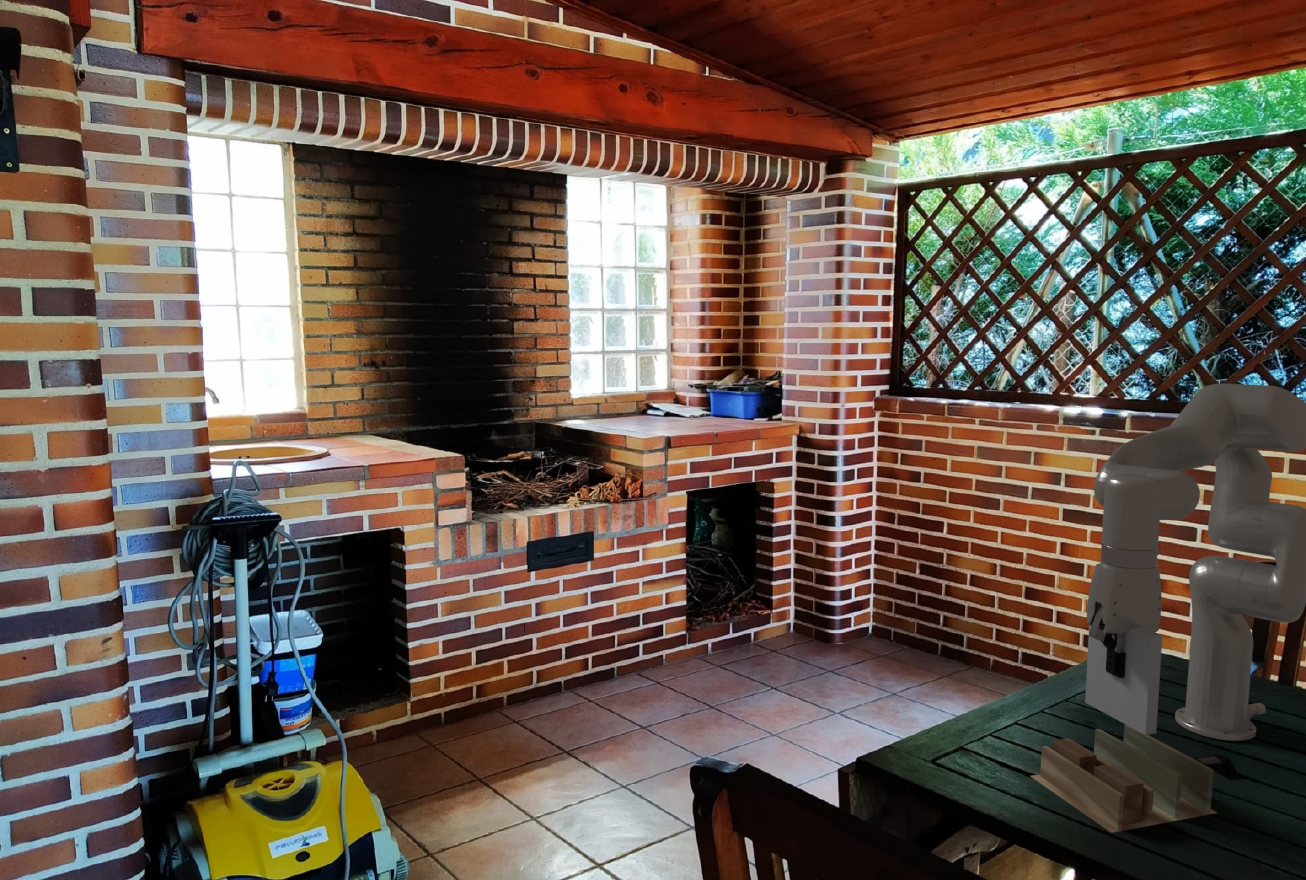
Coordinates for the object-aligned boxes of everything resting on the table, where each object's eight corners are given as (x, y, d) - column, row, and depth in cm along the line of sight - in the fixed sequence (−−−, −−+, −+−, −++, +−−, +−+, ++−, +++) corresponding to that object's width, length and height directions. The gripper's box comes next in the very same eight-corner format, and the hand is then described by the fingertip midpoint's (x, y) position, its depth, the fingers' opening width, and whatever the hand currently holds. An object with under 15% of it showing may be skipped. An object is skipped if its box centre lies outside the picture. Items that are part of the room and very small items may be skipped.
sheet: (1095, 700, 145) (1100, 610, 143) (1156, 733, 133) (1162, 635, 131) (1085, 702, 144) (1089, 611, 142) (1145, 735, 133) (1151, 637, 131)
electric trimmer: (1140, 777, 148) (1141, 759, 147) (1219, 765, 151) (1220, 748, 151) (1157, 788, 144) (1158, 770, 144) (1238, 776, 148) (1239, 758, 147)
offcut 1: (1066, 773, 145) (1068, 738, 144) (1094, 792, 139) (1096, 755, 138) (1049, 776, 144) (1051, 740, 143) (1077, 795, 138) (1079, 757, 137)
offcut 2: (1109, 801, 136) (1111, 764, 135) (1140, 822, 130) (1143, 783, 130) (1091, 804, 135) (1094, 766, 135) (1122, 825, 130) (1125, 786, 129)
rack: (1126, 768, 150) (1129, 722, 149) (1216, 822, 133) (1220, 771, 132) (1029, 784, 144) (1032, 737, 143) (1111, 842, 128) (1114, 789, 127)
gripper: (1150, 546, 141) (1143, 659, 144) (1067, 554, 137) (1061, 671, 139) (1191, 558, 134) (1183, 677, 137) (1104, 567, 130) (1097, 690, 132)
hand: (1121, 673), depth 138 cm, fingers closed on sheet, 1 cm apart
